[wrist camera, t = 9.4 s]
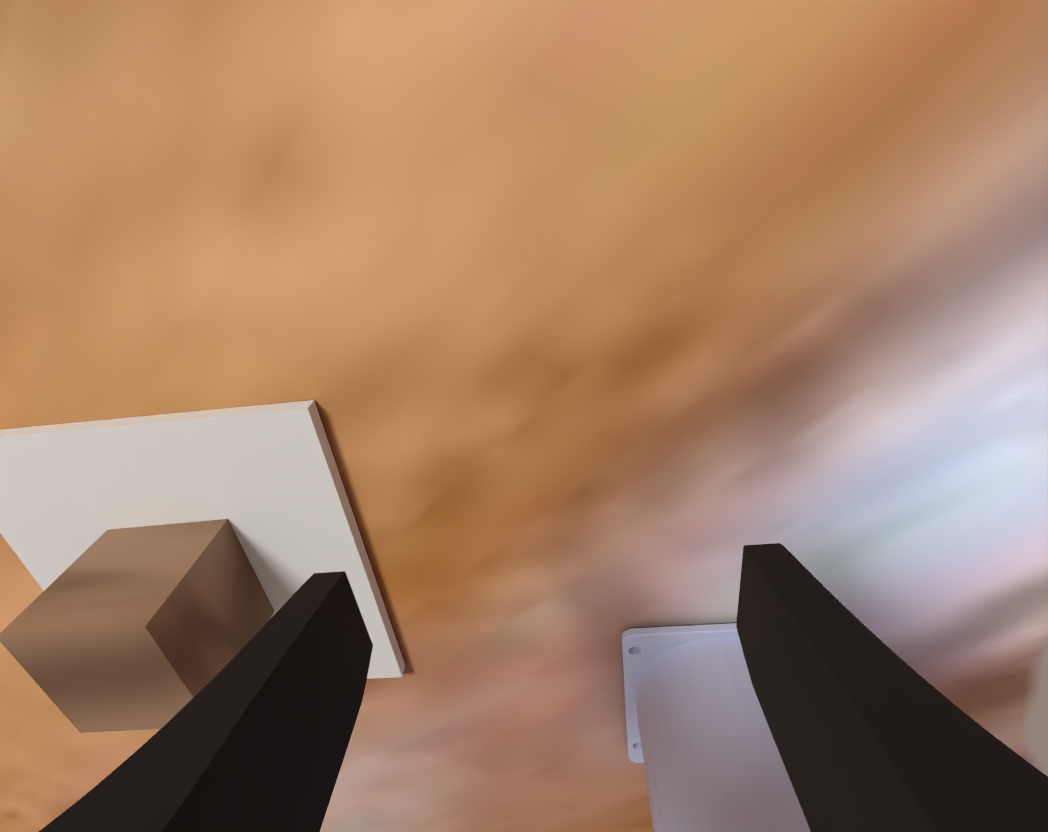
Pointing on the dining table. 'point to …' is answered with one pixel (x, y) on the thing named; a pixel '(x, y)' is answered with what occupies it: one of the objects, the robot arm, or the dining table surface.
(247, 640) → the walnut cube
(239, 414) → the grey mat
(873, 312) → the dining table surface
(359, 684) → the robot arm
